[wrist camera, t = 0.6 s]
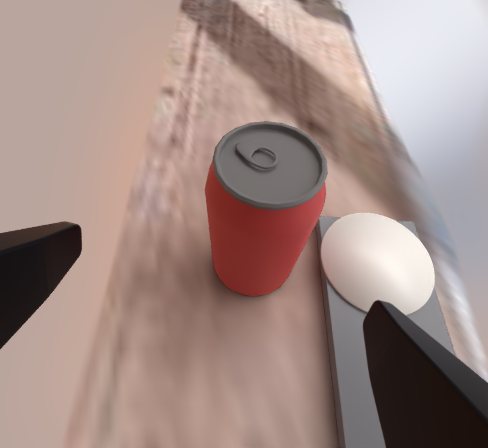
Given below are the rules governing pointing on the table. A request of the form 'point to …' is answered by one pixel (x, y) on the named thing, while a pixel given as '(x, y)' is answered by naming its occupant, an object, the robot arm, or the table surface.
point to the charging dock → (361, 299)
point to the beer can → (263, 203)
